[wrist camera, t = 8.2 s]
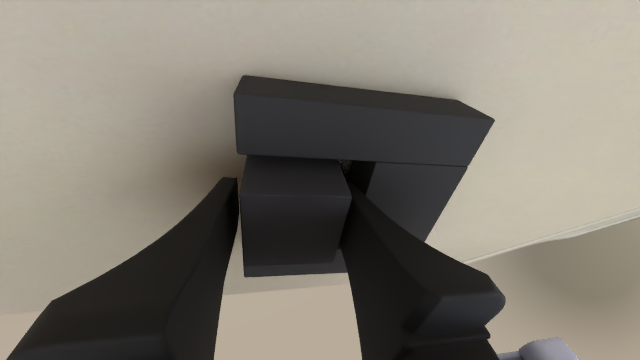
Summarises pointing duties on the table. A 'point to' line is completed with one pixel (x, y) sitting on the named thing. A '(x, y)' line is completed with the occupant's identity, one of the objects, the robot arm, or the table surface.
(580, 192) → the table surface
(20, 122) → the table surface
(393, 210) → the dark grey piece
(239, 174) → the table surface
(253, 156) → the dark grey cube
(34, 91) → the table surface
